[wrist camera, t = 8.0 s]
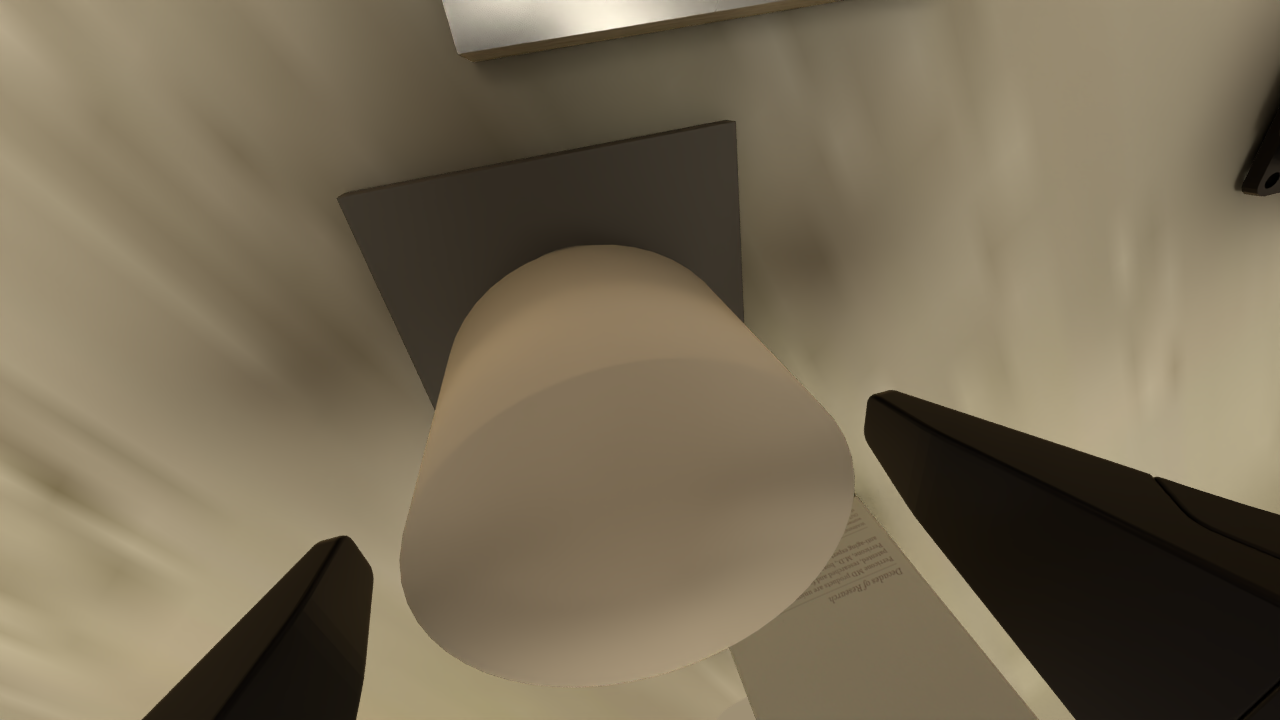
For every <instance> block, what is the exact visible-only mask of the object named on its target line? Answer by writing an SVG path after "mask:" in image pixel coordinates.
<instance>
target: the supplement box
mask: <svg viewBox="0 0 1280 720" xmlns="http://www.w3.org/2000/svg"><path fill="white" fill-rule="evenodd" d="M729 649H730V651H731V654H732V657H733V659H734V662H735V665H736V667H737V670H738V673H739V675H740V678H741V681H742V683H743V686H744V689H745V692H746V694H747V697H748V700H749V702H750V705H751V707H752V710H753V713H754V716H755V718H756V720H1039V719H1038V718H1037V717H1036V715H1035V714H1034V713H1033V712H1032V711H1031V709H1030V708H1029V707H1028V706H1027V704H1026V703H1025V702H1024V701H1023V700H1022V698H1021V697H1020V696H1019V695H1018V693H1017V692H1016V691H1015V690H1014V689H1013V687H1012V686H1011V685H1010V684H1009V682H1008V681H1007V680H1006V679H1005V677H1004V676H1003V675H1002V674H1001V672H1000V671H999V670H998V669H997V668H996V666H995V665H994V664H993V663H992V661H991V660H990V659H989V658H988V656H987V655H986V654H985V653H984V652H983V650H982V649H981V648H980V647H979V645H978V644H977V643H976V642H975V641H974V639H973V638H972V637H971V636H970V634H969V633H968V632H967V631H966V630H965V628H964V627H963V626H962V625H961V623H960V622H959V621H958V620H957V618H956V617H955V616H954V615H953V614H952V612H951V611H950V610H949V609H948V607H947V606H946V605H945V604H944V602H943V601H942V600H941V599H940V598H939V596H938V595H937V594H936V593H935V591H934V590H933V589H932V588H931V587H930V585H929V584H928V583H927V582H926V580H925V579H924V578H923V577H922V576H921V574H920V573H919V572H918V571H917V569H916V568H915V567H914V566H913V564H912V563H911V562H910V561H909V560H908V558H907V557H906V556H905V555H904V553H903V552H902V551H901V550H900V548H899V547H898V546H897V544H896V543H895V542H894V541H893V540H892V538H891V537H890V536H889V535H888V533H887V532H886V531H885V530H884V529H883V528H882V526H881V525H880V524H879V523H878V521H877V520H876V519H875V518H874V517H873V515H872V514H871V513H870V512H869V510H868V509H867V508H866V507H865V505H864V504H863V503H862V502H861V500H860V499H859V497H854V498H853V503H852V508H851V513H850V517H849V520H848V523H847V525H846V528H845V531H844V534H843V536H842V538H841V540H840V542H839V544H838V546H837V548H836V550H835V552H834V553H833V555H832V556H831V558H830V559H829V561H828V562H827V564H826V566H825V567H824V569H823V570H822V571H821V573H820V574H819V575H818V576H817V577H816V579H815V580H814V581H813V582H812V583H811V585H810V586H809V587H808V588H807V589H806V590H805V591H804V592H803V593H802V594H801V595H800V596H799V597H798V598H797V599H796V600H795V601H794V602H793V603H792V604H791V605H790V606H789V607H787V608H786V609H785V610H784V611H783V612H782V613H780V614H779V615H778V616H777V617H776V618H774V619H773V620H771V621H770V622H769V623H767V624H766V625H765V626H763V627H762V628H760V629H759V630H758V631H756V632H754V633H753V634H751V635H750V636H748V637H746V638H745V639H743V640H741V641H740V642H738V643H736V644H734V645H733V646H731V647H729Z"/></svg>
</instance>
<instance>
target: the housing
mask: <svg viewBox="0 0 1280 720" xmlns="http://www.w3.org/2000/svg"><path fill="white" fill-rule="evenodd" d="M838 1H844V0H442V2H443V6H444V9H445V13H446V16H447V20H448V23H449V26H450V30H451V33H452V37H453V40H454V44H455V47H456V50H457V54H458V55H460V56H462V57H464V58H466V59H468V60H469V61H471V62H473V63H474V62H480V61H486V60H492V59H498V58H503V57H509V56H515V55H521V54H527V53H533V52H539V51H545V50H551V49H557V48H563V47H569V46H575V45H581V44H587V43H593V42H599V41H605V40H611V39H617V38H623V37H629V36H635V35H641V34H647V33H653V32H659V31H665V30H671V29H677V28H683V27H689V26H695V25H701V24H707V23H713V22H719V21H725V20H731V19H737V18H743V17H749V16H755V15H761V14H767V13H773V12H779V11H785V10H791V9H797V8H803V7H808V6H814V5H820V4H826V3H832V2H838Z"/></svg>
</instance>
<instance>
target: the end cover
mask: <svg viewBox="0 0 1280 720" xmlns="http://www.w3.org/2000/svg"><path fill="white" fill-rule="evenodd" d="M854 479H855V475H854V469H853V462H852V456H851V453H850V450H849V448H848V445H847V442H846V439H845V437H844V435H843V433H842V432H841V430H840V428H839V427H838V425H837V423H836V422H835V420H834V419H833V418H832V416H831V415H830V414H829V413H828V412H827V411H826V410H825V409H824V408H823V406H822V405H821V404H820V403H819V402H818V401H817V400H816V399H815V398H814V397H813V396H812V395H811V394H810V393H809V392H808V390H807V389H806V388H805V387H804V386H803V385H802V384H801V383H800V382H799V381H798V380H797V379H796V378H795V377H794V376H793V375H792V374H791V373H790V372H789V371H788V369H787V368H786V367H785V366H784V365H783V364H782V363H781V362H780V361H779V360H778V359H777V358H776V357H775V356H774V355H773V354H772V353H771V352H770V351H769V350H768V348H767V347H766V346H765V345H764V344H763V343H762V342H761V341H760V340H759V339H758V338H757V337H756V336H755V335H754V334H753V333H752V332H751V331H750V330H749V329H748V328H747V326H746V325H745V324H744V323H743V322H742V321H741V320H740V319H739V318H738V317H737V316H736V315H735V314H734V313H733V312H732V311H731V310H730V309H729V308H728V307H727V305H726V304H725V303H724V302H723V301H722V300H721V299H720V298H719V297H718V296H717V295H716V294H715V293H714V292H713V291H712V290H711V289H710V288H709V287H708V286H707V284H706V283H705V282H704V281H703V280H701V279H700V278H699V277H698V276H696V275H695V274H694V273H693V272H691V271H690V270H689V269H687V268H686V267H684V266H682V265H680V264H679V263H677V262H675V261H674V260H672V259H669V258H667V257H664V256H662V255H660V254H657V253H655V252H651V251H647V250H643V249H639V248H635V247H628V246H620V245H579V246H572V247H565V248H562V249H558V250H555V251H552V252H550V253H547V254H545V255H543V256H541V257H539V258H537V259H535V260H533V261H531V262H528V263H526V264H524V265H523V266H521V267H519V268H518V269H516V270H514V271H513V272H511V273H509V274H508V275H506V276H505V277H504V278H502V279H501V280H500V281H499V282H497V283H496V284H495V285H494V286H492V287H491V288H490V289H489V290H488V291H487V292H486V293H485V294H484V295H483V296H482V297H481V298H480V300H479V301H478V302H477V303H476V304H475V305H474V307H473V308H472V309H471V311H470V312H469V314H468V315H467V316H466V318H465V319H464V321H463V323H462V325H461V327H460V329H459V331H458V333H457V335H456V337H455V340H454V343H453V346H452V349H451V352H450V355H449V359H448V363H447V367H446V370H445V374H444V378H443V382H442V386H441V390H440V394H439V397H438V401H437V405H436V409H435V413H434V417H433V421H432V424H431V428H430V432H429V436H428V440H427V444H426V448H425V451H424V455H423V459H422V463H421V467H420V471H419V475H418V478H417V482H416V486H415V490H414V494H413V498H412V502H411V505H410V509H409V513H408V517H407V521H406V525H405V529H404V532H403V537H402V545H401V553H400V572H401V583H402V587H403V590H404V593H405V597H406V600H407V603H408V605H409V607H410V609H411V611H412V613H413V614H414V616H415V618H416V620H417V622H418V623H419V624H420V626H421V627H422V628H423V629H424V630H425V632H426V633H427V634H428V635H429V636H430V638H431V639H432V640H433V641H435V642H436V643H437V644H438V645H439V646H440V647H442V648H443V649H444V650H445V651H446V652H448V653H449V654H451V655H452V656H454V657H456V658H457V659H459V660H460V661H462V662H464V663H465V664H467V665H469V666H472V667H474V668H476V669H478V670H481V671H483V672H485V673H488V674H491V675H494V676H497V677H500V678H504V679H507V680H511V681H516V682H521V683H526V684H531V685H541V686H550V687H593V686H605V685H613V684H620V683H627V682H632V681H636V680H641V679H646V678H650V677H654V676H657V675H661V674H664V673H668V672H672V671H675V670H677V669H680V668H683V667H686V666H689V665H691V664H694V663H697V662H699V661H701V660H703V659H706V658H708V657H710V656H713V655H715V654H717V653H719V652H721V651H723V650H725V649H727V648H729V647H731V646H733V645H734V644H736V643H738V642H740V641H741V640H743V639H745V638H746V637H748V636H750V635H751V634H753V633H754V632H756V631H758V630H759V629H760V628H762V627H763V626H765V625H766V624H767V623H769V622H770V621H771V620H773V619H774V618H776V617H777V616H778V615H779V614H780V613H782V612H783V611H784V610H785V609H786V608H787V607H789V606H790V605H791V604H792V603H793V602H794V601H795V600H796V599H797V598H798V597H799V596H800V595H801V594H802V593H803V592H804V591H805V590H806V589H807V588H808V587H809V586H810V585H811V583H812V582H813V581H814V580H815V579H816V577H817V576H818V575H819V574H820V573H821V571H822V570H823V569H824V567H825V566H826V564H827V562H828V561H829V559H830V558H831V556H832V555H833V553H834V552H835V550H836V548H837V546H838V544H839V542H840V540H841V538H842V536H843V534H844V531H845V528H846V525H847V523H848V520H849V517H850V513H851V508H852V503H853V498H854Z"/></svg>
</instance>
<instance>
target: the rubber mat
mask: <svg viewBox="0 0 1280 720" xmlns="http://www.w3.org/2000/svg"><path fill="white" fill-rule="evenodd" d="M337 200H338V202H339V205H340V207H341V209H342V211H343V213H344V215H345V217H346V220H347V222H348V224H349V226H350V228H351V230H352V233H353V235H354V237H355V239H356V241H357V243H358V245H359V248H360V250H361V252H362V254H363V256H364V258H365V261H366V263H367V265H368V267H369V269H370V271H371V274H372V276H373V278H374V280H375V282H376V284H377V286H378V289H379V291H380V293H381V295H382V297H383V299H384V302H385V304H386V306H387V308H388V310H389V312H390V314H391V317H392V319H393V321H394V323H395V325H396V327H397V330H398V332H399V334H400V336H401V338H402V340H403V342H404V345H405V347H406V349H407V351H408V353H409V355H410V358H411V360H412V362H413V364H414V366H415V368H416V370H417V373H418V375H419V377H420V379H421V381H422V383H423V386H424V388H425V390H426V392H427V394H428V396H429V399H430V401H431V403H432V405H433V407H434V409H436V405H437V401H438V397H439V394H440V390H441V386H442V382H443V378H444V374H445V370H446V367H447V363H448V359H449V355H450V352H451V349H452V346H453V343H454V340H455V337H456V335H457V333H458V331H459V329H460V327H461V325H462V323H463V321H464V319H465V318H466V316H467V315H468V314H469V312H470V311H471V309H472V308H473V307H474V305H475V304H476V303H477V302H478V301H479V300H480V298H481V297H482V296H483V295H484V294H485V293H486V292H487V291H488V290H489V289H490V288H491V287H492V286H494V285H495V284H496V283H497V282H499V281H500V280H501V279H502V278H504V277H505V276H506V275H508V274H509V273H511V272H513V271H514V270H516V269H518V268H519V267H521V266H523V265H524V264H526V263H528V262H531V261H533V260H535V259H537V258H539V257H541V256H543V255H545V254H547V253H550V252H552V251H555V250H558V249H562V248H565V247H572V246H579V245H620V246H628V247H635V248H639V249H643V250H647V251H651V252H655V253H657V254H660V255H662V256H664V257H667V258H669V259H672V260H674V261H675V262H677V263H679V264H680V265H682V266H684V267H686V268H687V269H689V270H690V271H691V272H693V273H694V274H695V275H696V276H698V277H699V278H700V279H701V280H703V281H704V282H705V283H706V284H707V286H708V287H709V288H710V289H711V290H712V291H713V292H714V293H715V294H716V295H717V296H718V297H719V298H720V299H721V300H722V301H723V302H724V303H725V304H726V305H727V307H728V308H729V309H730V310H731V311H732V312H733V313H734V314H735V315H736V316H737V317H738V318H739V319H740V320H741V321H742V322H743V323H744V310H743V286H742V262H741V237H740V213H739V188H738V164H737V139H736V122H735V121H729V120H724V121H719V122H714V123H708V124H703V125H698V126H693V127H688V128H682V129H677V130H672V131H667V132H661V133H656V134H651V135H646V136H640V137H635V138H630V139H625V140H619V141H614V142H609V143H604V144H599V145H593V146H588V147H583V148H578V149H572V150H567V151H562V152H557V153H551V154H546V155H541V156H536V157H530V158H525V159H520V160H515V161H510V162H504V163H499V164H494V165H489V166H483V167H478V168H473V169H468V170H462V171H457V172H452V173H447V174H441V175H436V176H431V177H426V178H421V179H415V180H410V181H405V182H400V183H394V184H389V185H384V186H379V187H373V188H368V189H363V190H358V191H353V192H347V193H344V194H343V195H341V196H339V197H338V198H337Z"/></svg>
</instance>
